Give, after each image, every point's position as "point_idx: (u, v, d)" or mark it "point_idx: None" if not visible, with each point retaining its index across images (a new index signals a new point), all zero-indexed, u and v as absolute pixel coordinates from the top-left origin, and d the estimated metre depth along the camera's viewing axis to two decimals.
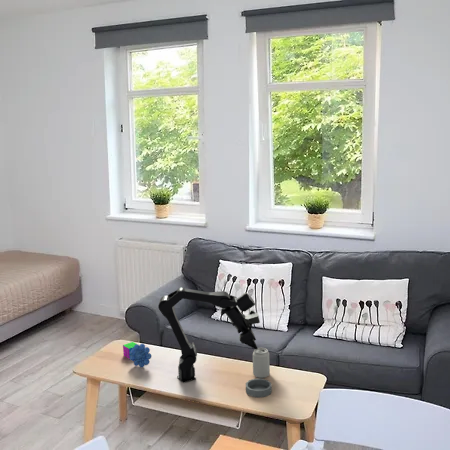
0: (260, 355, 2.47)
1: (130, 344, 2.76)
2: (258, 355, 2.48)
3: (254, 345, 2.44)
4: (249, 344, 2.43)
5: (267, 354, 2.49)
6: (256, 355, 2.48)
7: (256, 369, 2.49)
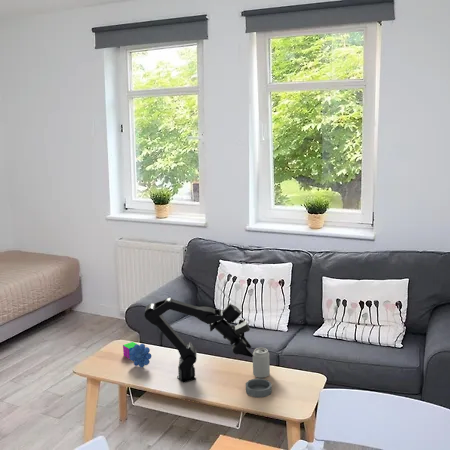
0: (260, 355, 2.47)
1: (130, 344, 2.76)
2: (258, 355, 2.48)
3: (249, 353, 2.45)
4: (244, 353, 2.44)
5: (267, 354, 2.49)
6: (256, 355, 2.48)
7: (256, 369, 2.49)
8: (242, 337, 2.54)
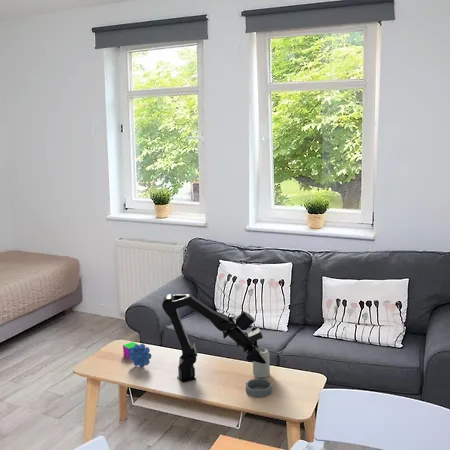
0: None
1: (130, 344, 2.76)
2: None
3: (262, 360, 2.46)
4: (256, 360, 2.46)
5: (267, 354, 2.49)
6: None
7: (256, 369, 2.49)
8: (255, 345, 2.54)
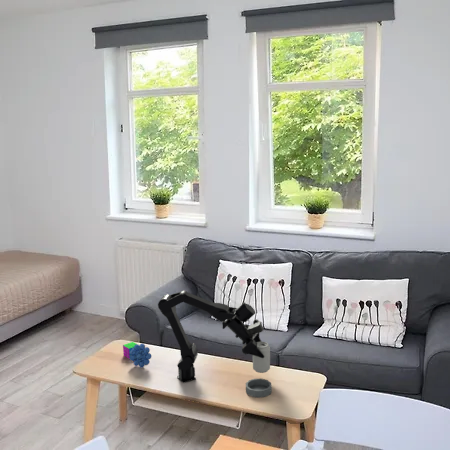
0: (259, 349, 2.40)
1: (130, 344, 2.76)
2: None
3: (260, 354, 2.39)
4: (254, 354, 2.39)
5: (267, 349, 2.41)
6: None
7: (255, 363, 2.42)
8: (257, 338, 2.47)
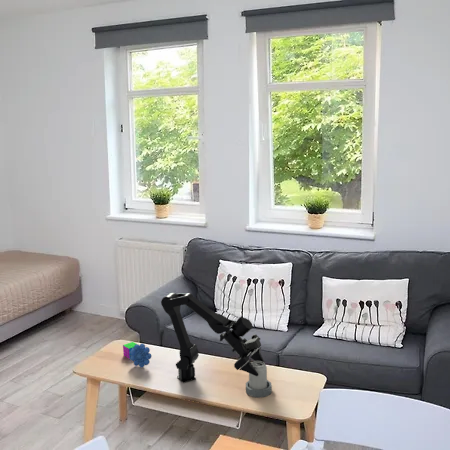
0: None
1: (130, 344, 2.76)
2: None
3: (253, 372, 2.31)
4: (248, 371, 2.32)
5: (262, 369, 2.34)
6: None
7: (250, 383, 2.36)
8: (257, 353, 2.41)
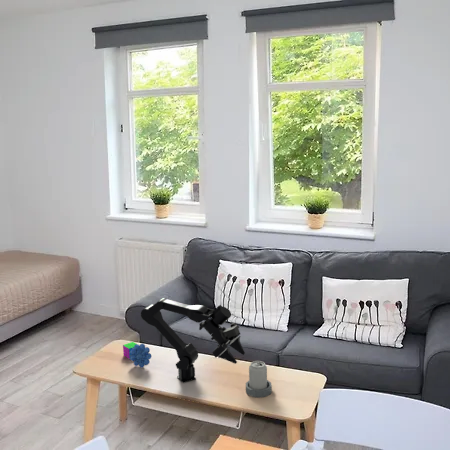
0: (254, 368, 2.34)
1: (130, 344, 2.76)
2: (252, 368, 2.34)
3: (232, 359, 2.34)
4: (226, 358, 2.35)
5: (262, 369, 2.34)
6: (250, 368, 2.35)
7: (250, 383, 2.36)
8: (236, 342, 2.44)
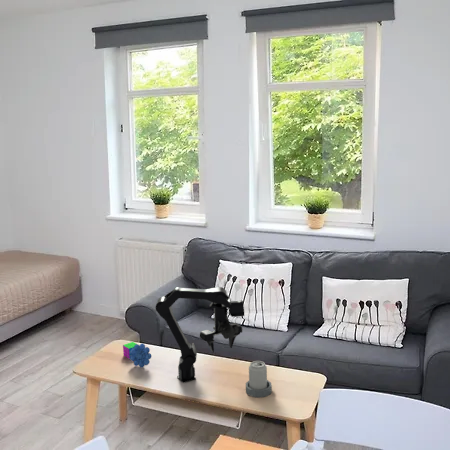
0: (253, 368, 2.34)
1: (130, 344, 2.76)
2: (252, 368, 2.34)
3: (211, 348, 2.46)
4: (208, 343, 2.46)
5: (262, 369, 2.34)
6: (250, 368, 2.35)
7: (250, 383, 2.36)
8: None
